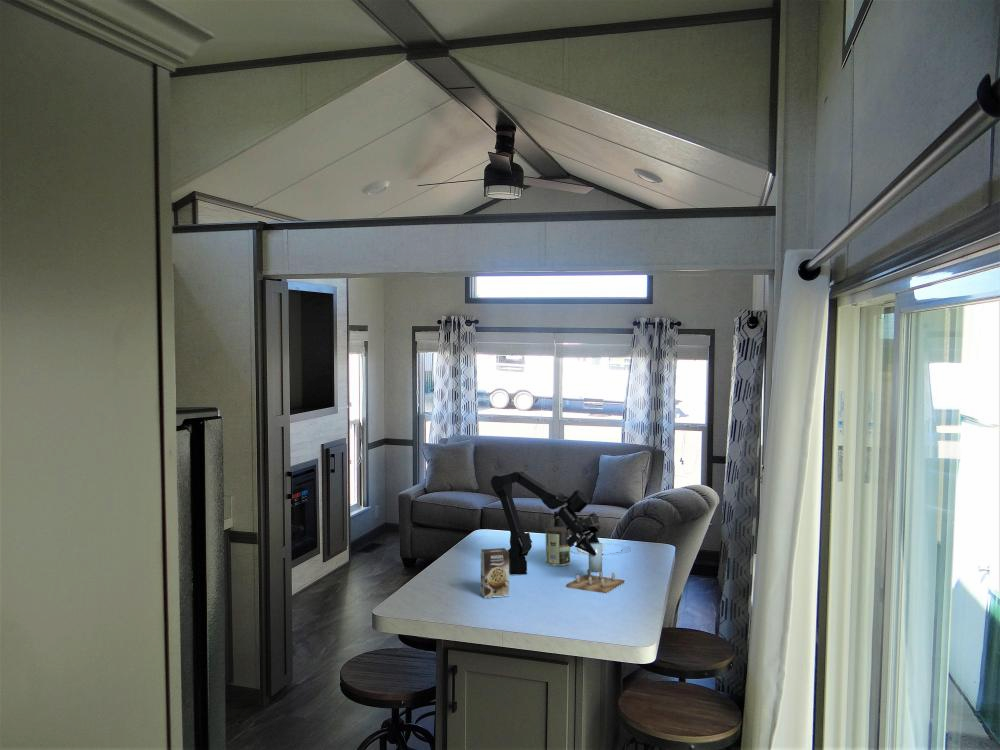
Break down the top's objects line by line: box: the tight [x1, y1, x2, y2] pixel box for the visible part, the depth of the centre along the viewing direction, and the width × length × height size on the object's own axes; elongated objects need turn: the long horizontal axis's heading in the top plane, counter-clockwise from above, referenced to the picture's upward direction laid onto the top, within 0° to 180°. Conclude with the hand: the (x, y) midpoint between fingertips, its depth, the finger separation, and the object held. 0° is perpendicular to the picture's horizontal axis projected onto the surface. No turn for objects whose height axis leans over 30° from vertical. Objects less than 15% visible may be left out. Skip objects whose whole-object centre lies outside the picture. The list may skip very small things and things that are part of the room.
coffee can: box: [544, 526, 571, 567], centre depth 328 cm, size 10×10×14 cm
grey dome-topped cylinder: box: [588, 542, 603, 574], centre depth 295 cm, size 5×5×10 cm
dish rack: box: [566, 568, 626, 594], centre depth 295 cm, size 16×16×4 cm
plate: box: [570, 540, 616, 557], centre depth 352 cm, size 28×28×1 cm
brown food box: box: [480, 547, 510, 598], centre depth 282 cm, size 9×6×16 cm
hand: (598, 553), depth 294 cm, fingers closed on grey dome-topped cylinder, 5 cm apart
